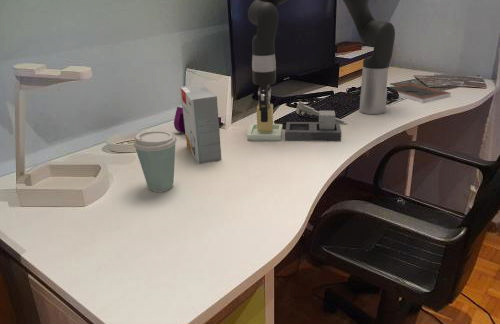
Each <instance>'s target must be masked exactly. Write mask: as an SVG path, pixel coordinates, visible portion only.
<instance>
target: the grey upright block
mask: <svg viewBox="0 0 500 324" xmlns="http://www.w3.org/2000/svg"><path fill="white" fill-rule="evenodd" d="M335 118H336V112H335V110H319V116H318V122H319V131H335Z"/></svg>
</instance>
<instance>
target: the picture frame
mask: <svg viewBox="0 0 500 324" xmlns="http://www.w3.org/2000/svg"><path fill="white" fill-rule="evenodd" d="M388 87H389V88H393V89H395V90H396V91H397V92H398V94H399V96H398V97H400V96H401V97H400V98H403V97H404V99H406V100H410V101H413V102H417V103H419V104H426V103H429V102H433V101H438V100H442V99H446V98H451V96H452V95H451V93H452V92H450V91H449V92H448V91H445V90H441V89H437V88H432V87H428V86H424V85H420V84H417V83H413V82H409V83H404V84H398V85H393V86H388Z"/></svg>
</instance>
